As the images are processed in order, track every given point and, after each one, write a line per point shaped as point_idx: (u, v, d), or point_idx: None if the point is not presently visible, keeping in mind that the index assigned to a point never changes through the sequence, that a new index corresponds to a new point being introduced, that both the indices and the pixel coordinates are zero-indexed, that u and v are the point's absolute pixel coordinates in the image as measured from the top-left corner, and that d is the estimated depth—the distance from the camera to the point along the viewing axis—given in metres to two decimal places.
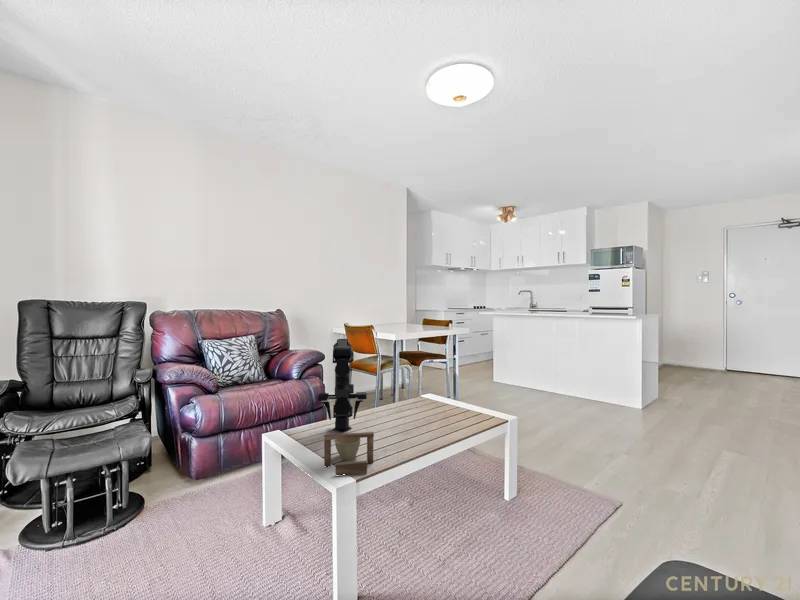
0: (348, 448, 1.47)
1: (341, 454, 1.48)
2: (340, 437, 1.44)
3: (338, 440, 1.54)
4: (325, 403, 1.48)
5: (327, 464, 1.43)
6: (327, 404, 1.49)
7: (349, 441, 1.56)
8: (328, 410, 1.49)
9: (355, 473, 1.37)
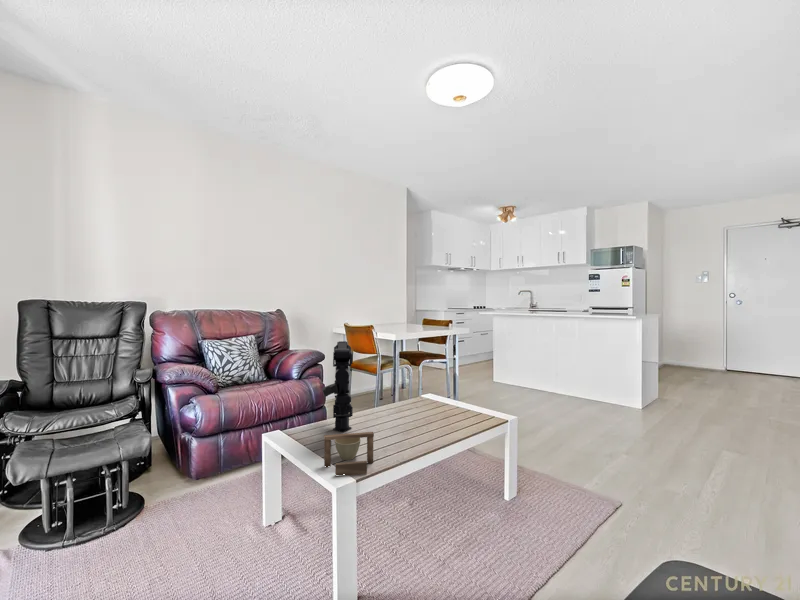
0: (348, 448, 1.47)
1: (341, 454, 1.48)
2: (340, 437, 1.44)
3: (338, 440, 1.54)
4: (335, 397, 1.71)
5: (327, 464, 1.43)
6: None
7: (349, 441, 1.56)
8: None
9: (355, 473, 1.37)
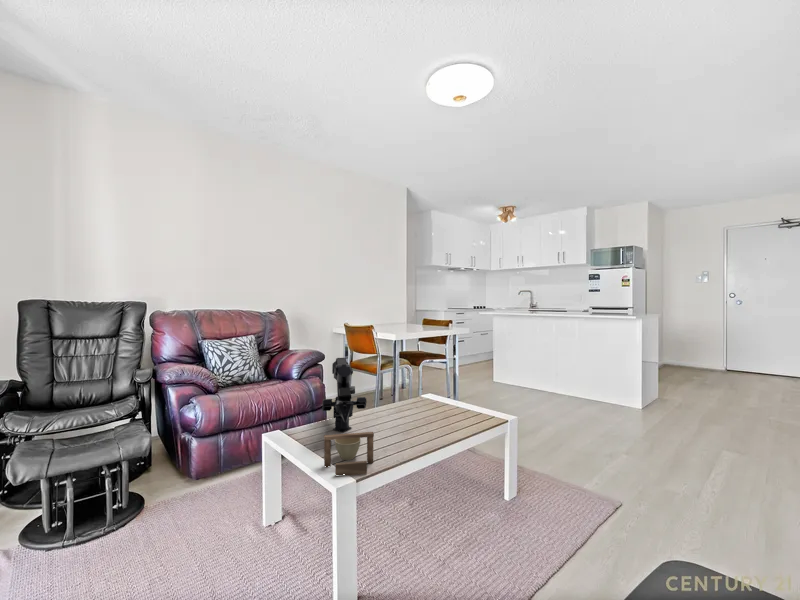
0: (348, 448, 1.47)
1: (341, 454, 1.48)
2: (340, 437, 1.44)
3: (338, 440, 1.54)
4: (340, 405, 1.65)
5: (327, 464, 1.43)
6: (342, 407, 1.65)
7: (349, 441, 1.56)
8: (343, 412, 1.64)
9: (355, 473, 1.37)
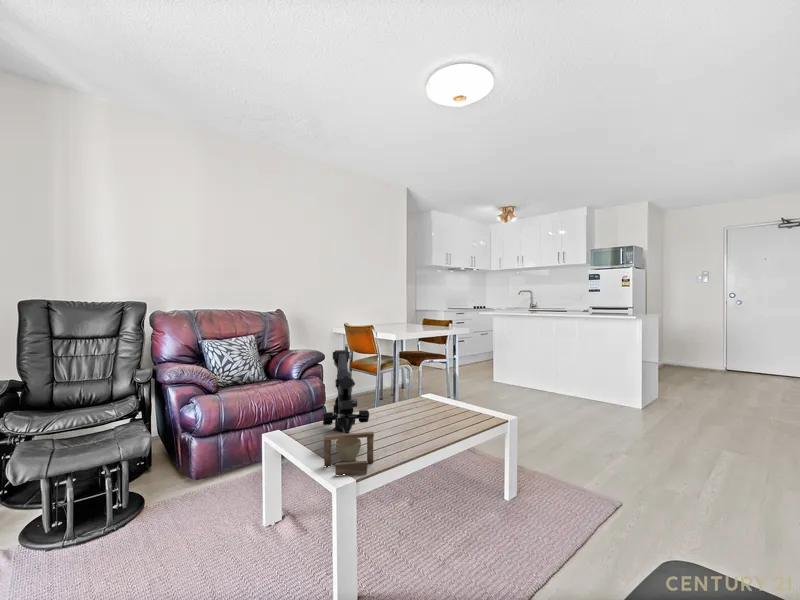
0: (348, 450, 1.45)
1: (341, 456, 1.46)
2: (340, 437, 1.44)
3: (338, 442, 1.52)
4: (341, 419, 1.57)
5: (327, 464, 1.43)
6: (343, 420, 1.57)
7: (349, 443, 1.54)
8: (344, 427, 1.56)
9: (355, 473, 1.37)
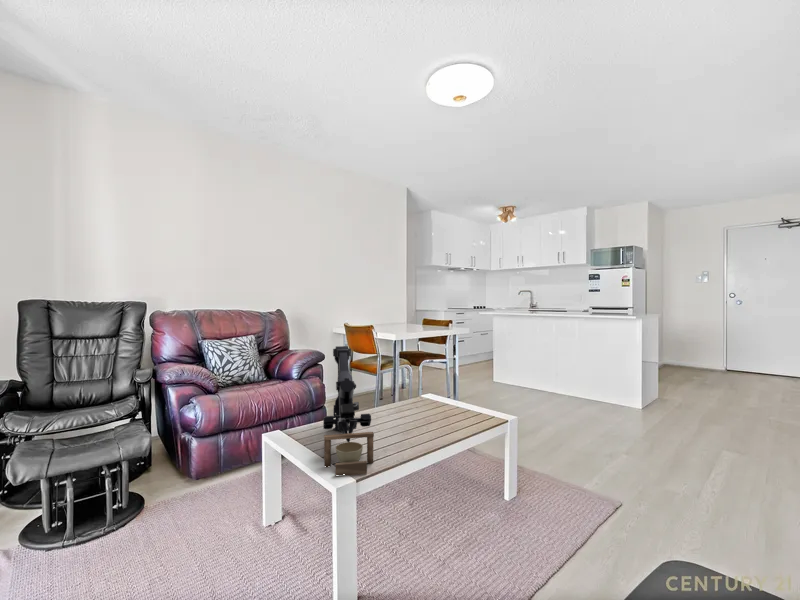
0: (349, 456, 1.40)
1: (342, 462, 1.41)
2: (340, 437, 1.44)
3: (339, 447, 1.47)
4: (342, 423, 1.51)
5: (327, 464, 1.43)
6: (344, 424, 1.51)
7: (351, 448, 1.49)
8: (345, 431, 1.50)
9: (355, 473, 1.37)
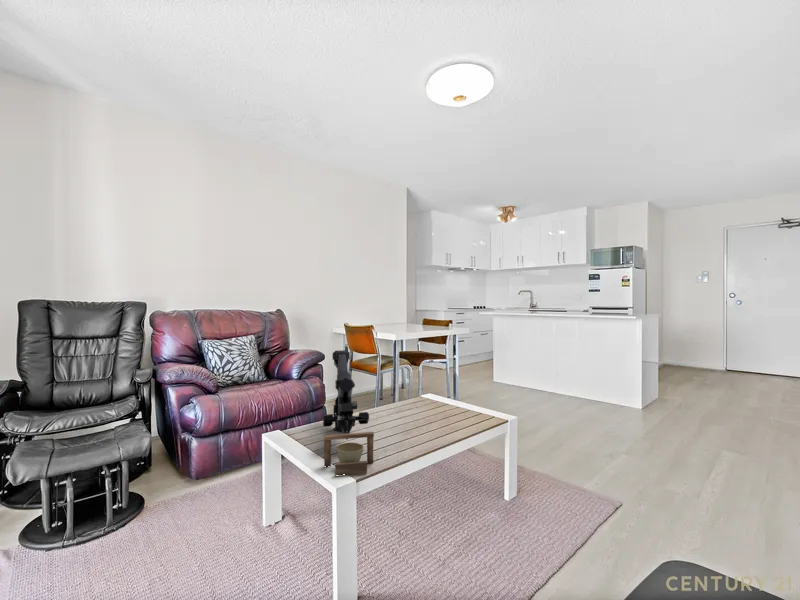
0: (350, 456, 1.39)
1: (342, 462, 1.41)
2: (340, 437, 1.44)
3: (340, 447, 1.46)
4: (341, 421, 1.58)
5: (327, 464, 1.43)
6: (343, 423, 1.58)
7: (351, 449, 1.48)
8: (344, 429, 1.57)
9: (355, 473, 1.37)
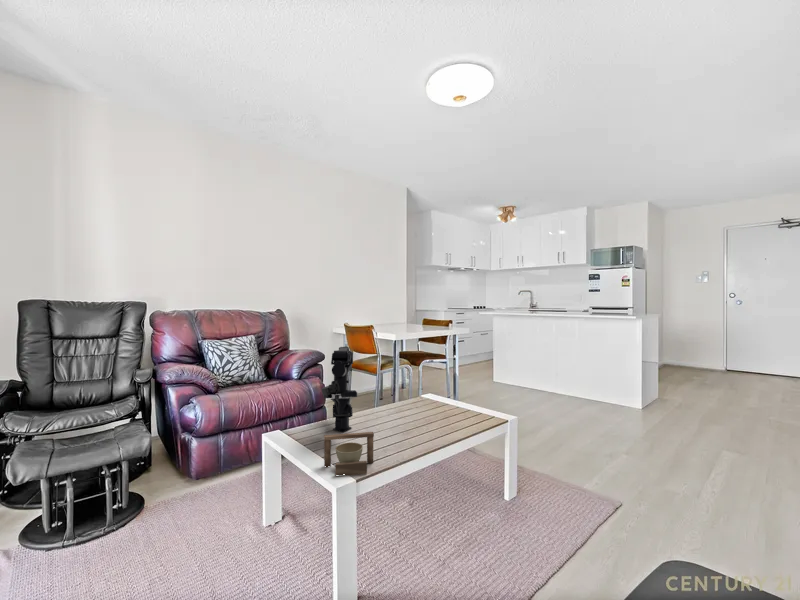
0: (349, 457, 1.39)
1: None
2: (340, 437, 1.44)
3: (339, 448, 1.46)
4: (332, 400, 1.70)
5: (327, 464, 1.43)
6: (334, 401, 1.70)
7: (351, 449, 1.48)
8: (336, 406, 1.69)
9: (355, 473, 1.37)
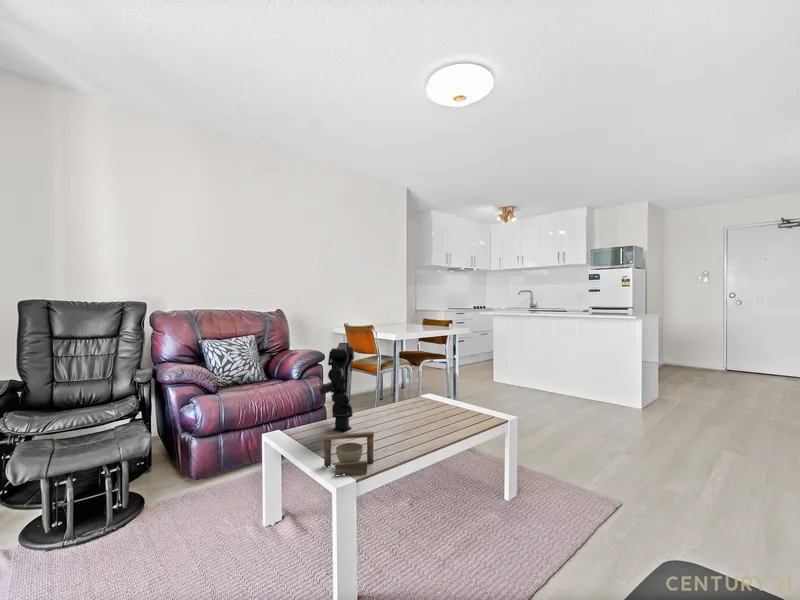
0: (349, 457, 1.39)
1: None
2: (340, 437, 1.44)
3: (339, 448, 1.46)
4: (332, 397, 1.72)
5: (327, 464, 1.43)
6: None
7: (351, 449, 1.48)
8: (335, 403, 1.72)
9: (355, 473, 1.37)
